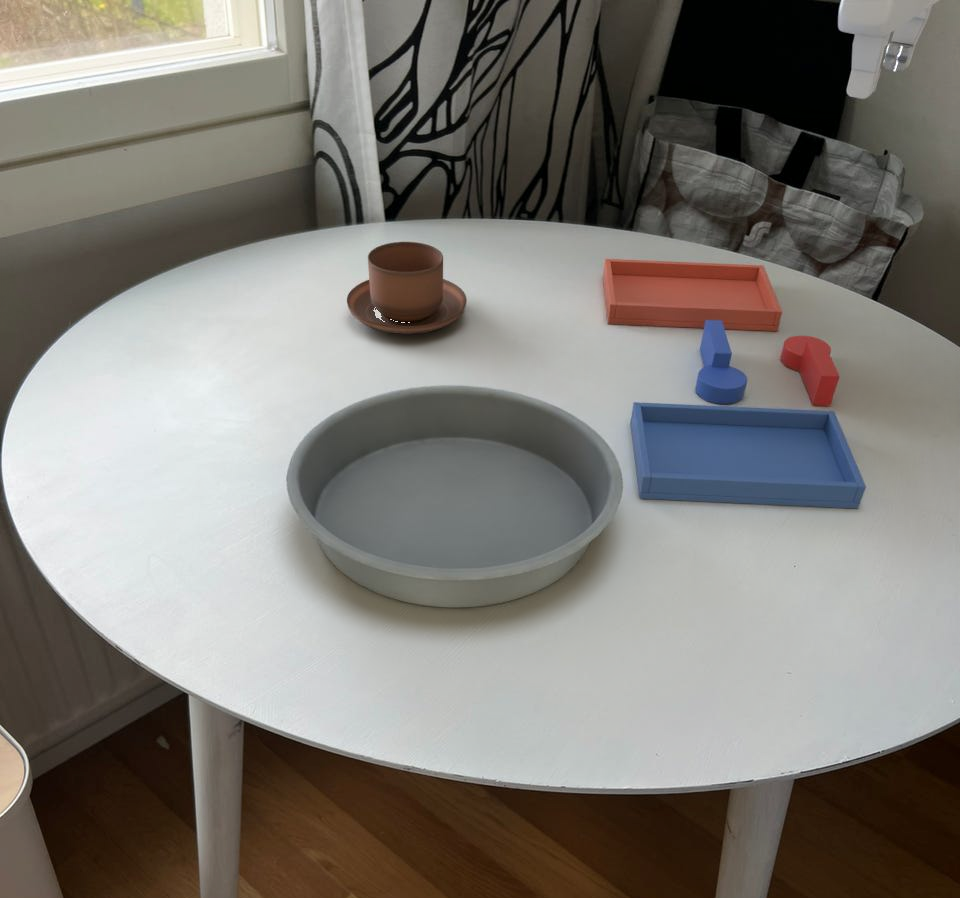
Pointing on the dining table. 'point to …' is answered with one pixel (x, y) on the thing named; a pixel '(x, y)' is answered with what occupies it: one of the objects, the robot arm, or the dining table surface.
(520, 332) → the dining table surface
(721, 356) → the blue lever handle
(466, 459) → the cake pan
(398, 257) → the cup and saucer
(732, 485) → the tray blue
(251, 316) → the dining table surface
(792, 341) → the red lever handle
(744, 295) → the tray red
